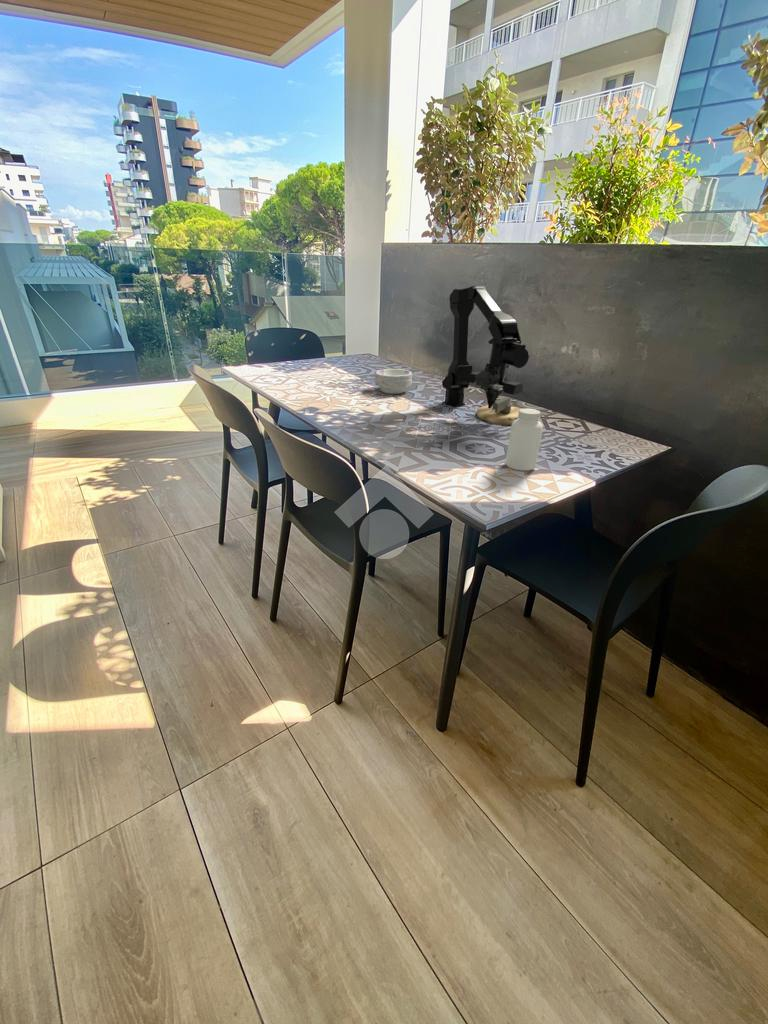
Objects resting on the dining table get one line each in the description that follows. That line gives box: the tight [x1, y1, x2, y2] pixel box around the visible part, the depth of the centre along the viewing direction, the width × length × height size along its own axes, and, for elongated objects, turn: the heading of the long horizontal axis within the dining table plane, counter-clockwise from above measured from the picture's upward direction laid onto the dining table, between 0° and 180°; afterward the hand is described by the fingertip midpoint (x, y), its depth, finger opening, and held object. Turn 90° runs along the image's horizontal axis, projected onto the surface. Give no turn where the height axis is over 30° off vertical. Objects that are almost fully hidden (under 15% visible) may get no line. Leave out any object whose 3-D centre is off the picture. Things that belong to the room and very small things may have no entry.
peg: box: [489, 396, 513, 414], centre depth 154 cm, size 15×4×5 cm, turn 145°
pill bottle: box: [505, 408, 544, 472], centre depth 117 cm, size 8×8×15 cm
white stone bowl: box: [374, 368, 413, 395], centre depth 185 cm, size 15×15×8 cm
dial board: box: [476, 405, 522, 426], centre depth 159 cm, size 19×19×2 cm
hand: (489, 408), depth 153 cm, fingers closed
